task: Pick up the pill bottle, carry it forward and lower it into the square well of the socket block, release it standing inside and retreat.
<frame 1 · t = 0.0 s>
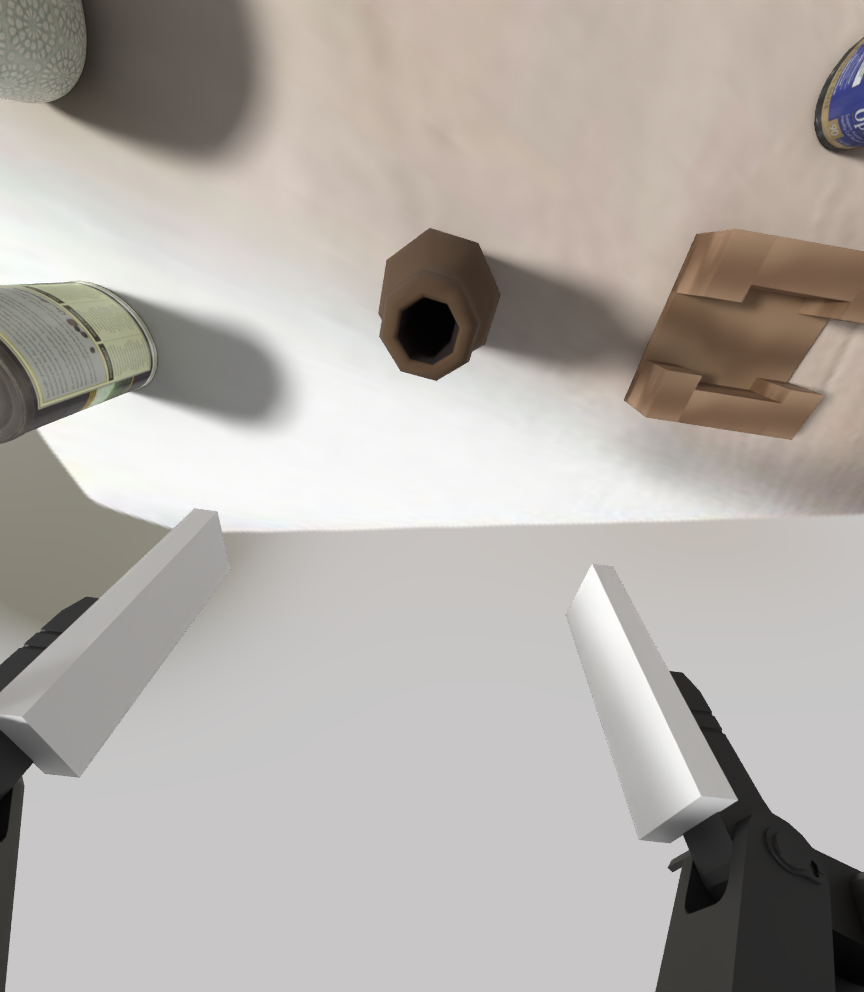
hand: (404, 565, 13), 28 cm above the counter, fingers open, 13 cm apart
socket: (728, 338, 34), on the counter
planter: (26, 2, 25), on the counter
pill bottle: (859, 94, 25), on the counter
coffee can: (107, 339, 37), on the counter
beer bottle: (442, 291, 33), on the counter
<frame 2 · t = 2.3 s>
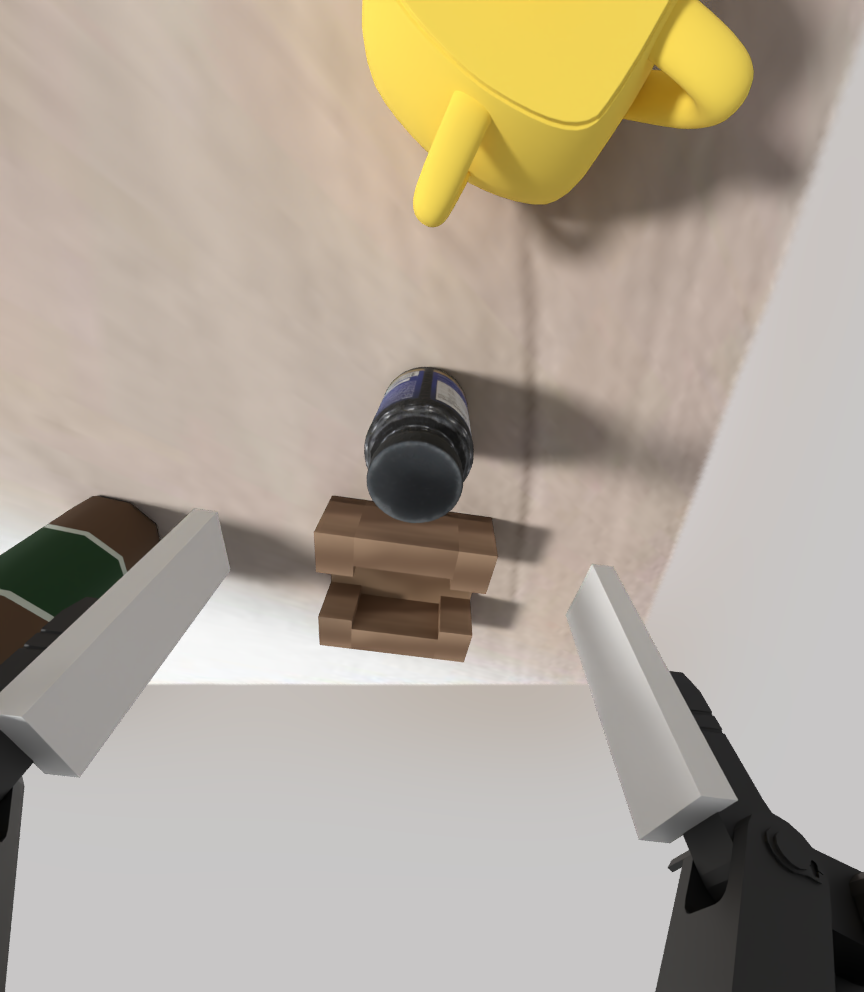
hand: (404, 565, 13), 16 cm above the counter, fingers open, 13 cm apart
teapot: (496, 41, 17), on the counter
socket: (404, 564, 35), on the counter
pill bottle: (426, 406, 27), on the counter
beer bottle: (123, 526, 34), on the counter
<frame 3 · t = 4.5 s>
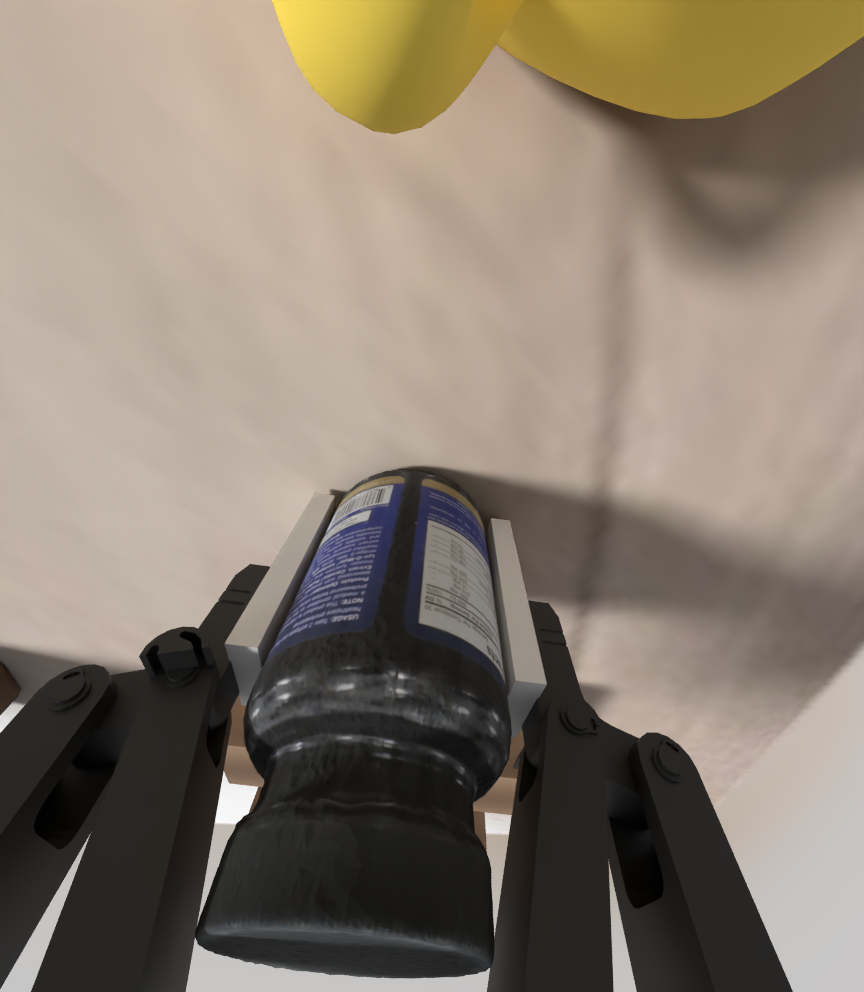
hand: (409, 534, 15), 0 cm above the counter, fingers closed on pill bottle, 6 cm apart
socket: (384, 720, 24), on the counter
pill bottle: (411, 525, 15), on the counter, touching gripper
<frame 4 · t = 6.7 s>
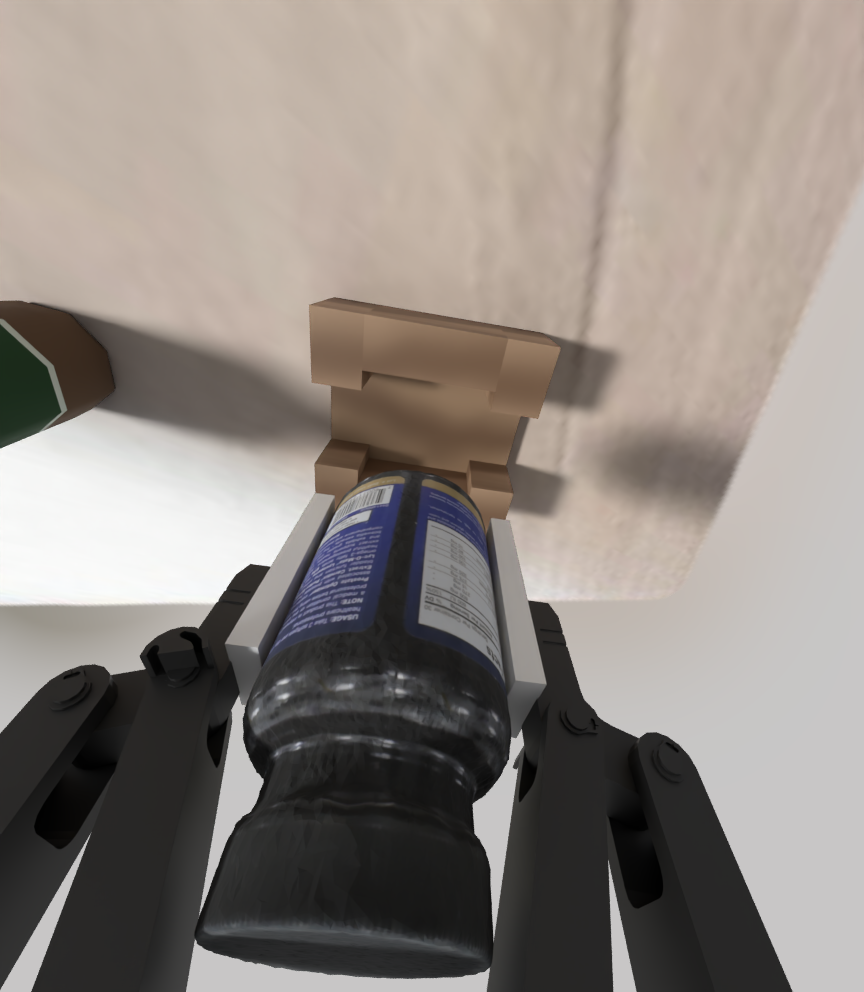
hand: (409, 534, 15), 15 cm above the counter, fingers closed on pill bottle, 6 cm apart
socket: (425, 415, 28), on the counter
pill bottle: (411, 525, 15), point 15 cm above the counter, touching gripper
beer bottle: (65, 357, 27), on the counter
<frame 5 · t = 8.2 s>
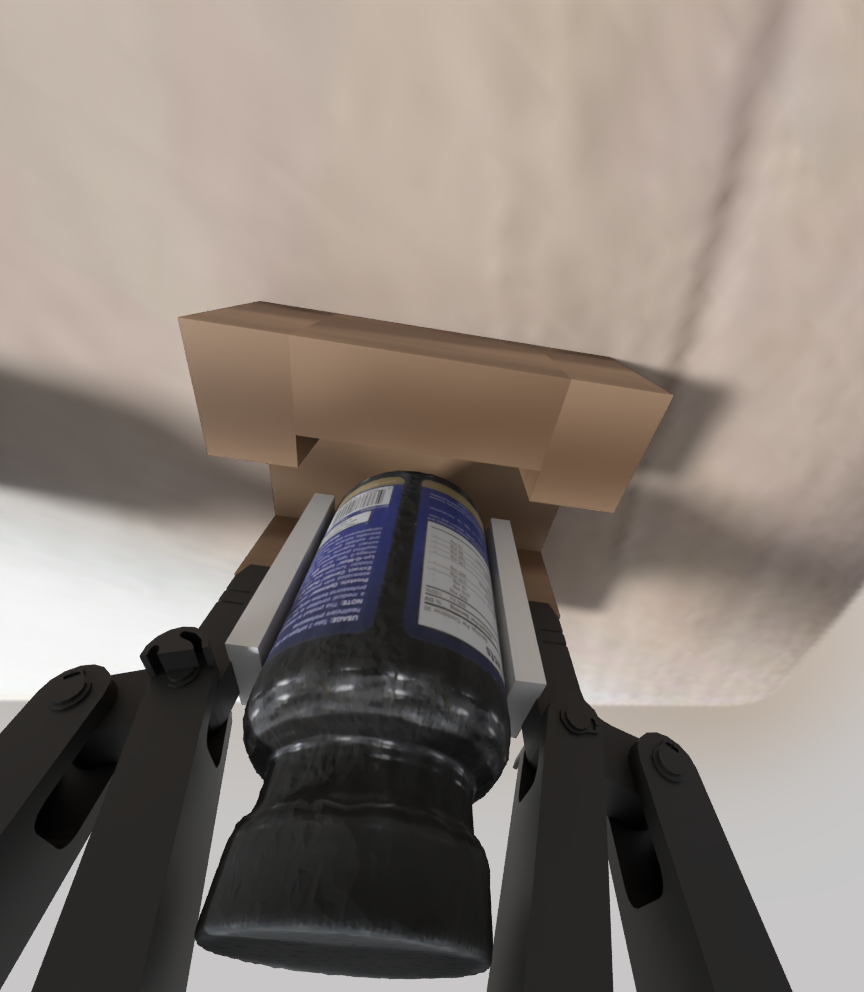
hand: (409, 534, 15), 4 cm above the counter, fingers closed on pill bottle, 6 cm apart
socket: (417, 480, 18), on the counter
pill bottle: (411, 525, 15), point 4 cm above the counter, touching gripper
when the fingers open (3 cm above the counter, at t = 9.2 s): pill bottle drops 2 cm, resting on socket.
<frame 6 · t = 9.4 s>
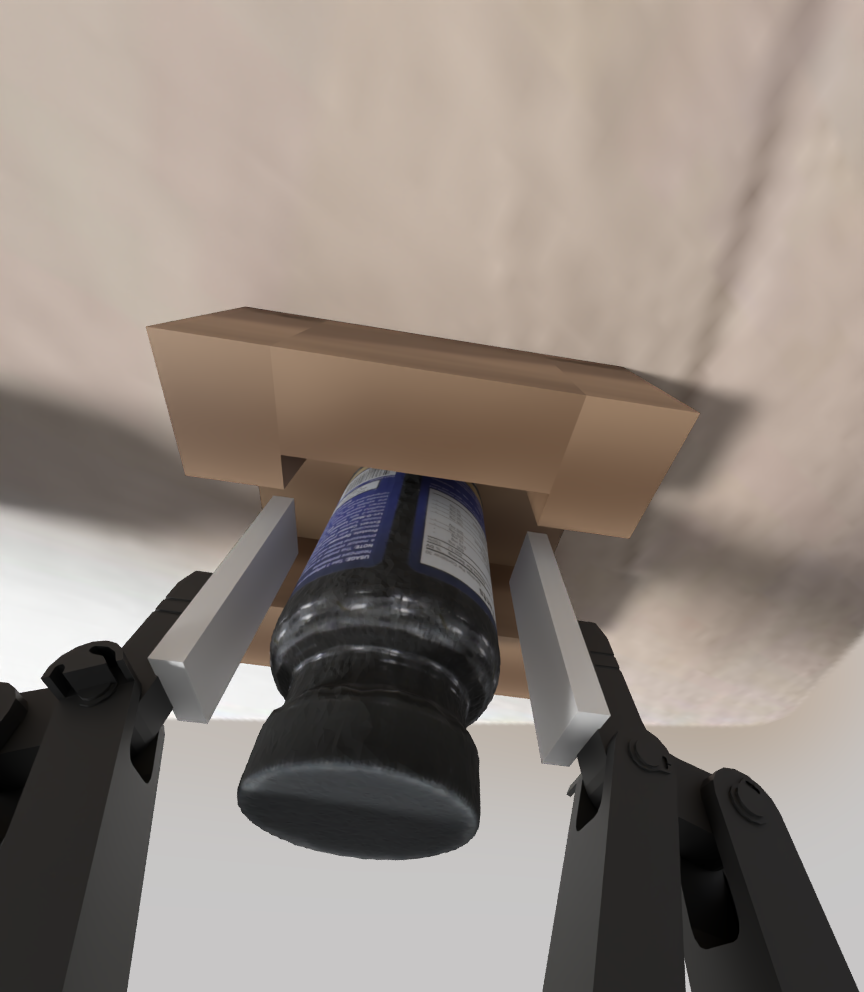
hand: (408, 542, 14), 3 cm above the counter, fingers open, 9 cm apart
socket: (415, 496, 17), on the counter
pill bottle: (415, 503, 16), point 1 cm above the counter, touching socket
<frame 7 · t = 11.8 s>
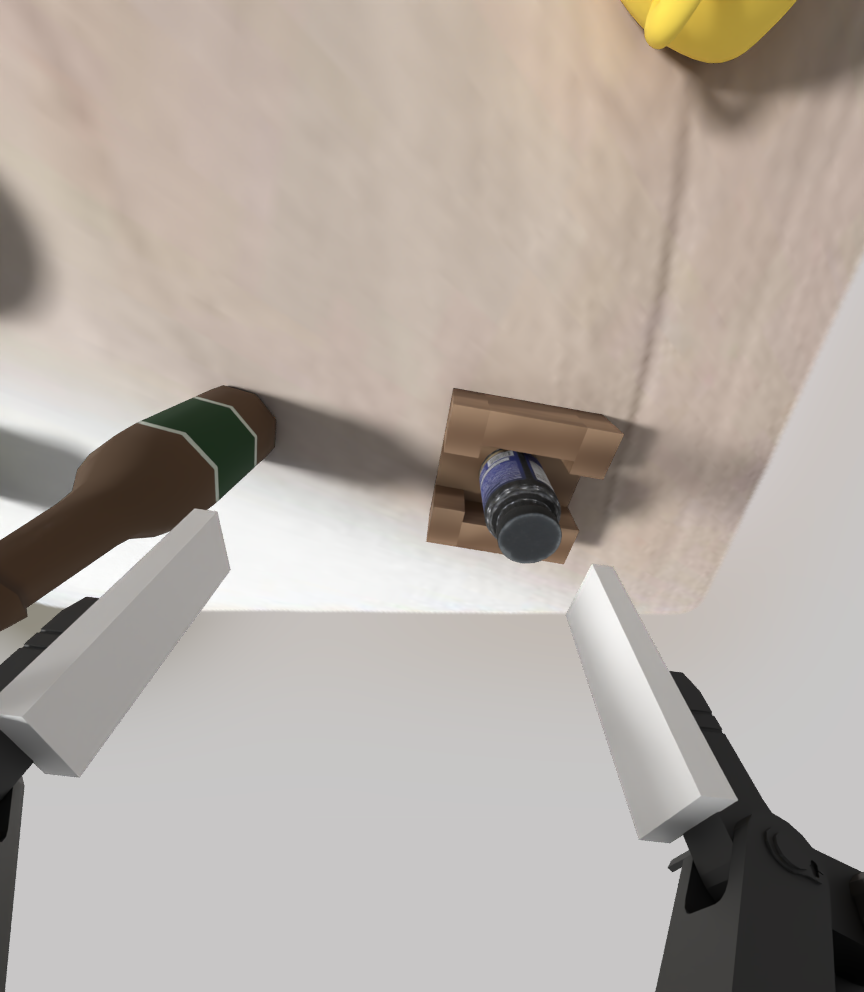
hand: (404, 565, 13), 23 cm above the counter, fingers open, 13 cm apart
socket: (508, 468, 37), on the counter
pill bottle: (509, 471, 36), point 1 cm above the counter, touching socket
beer bottle: (242, 422, 36), on the counter
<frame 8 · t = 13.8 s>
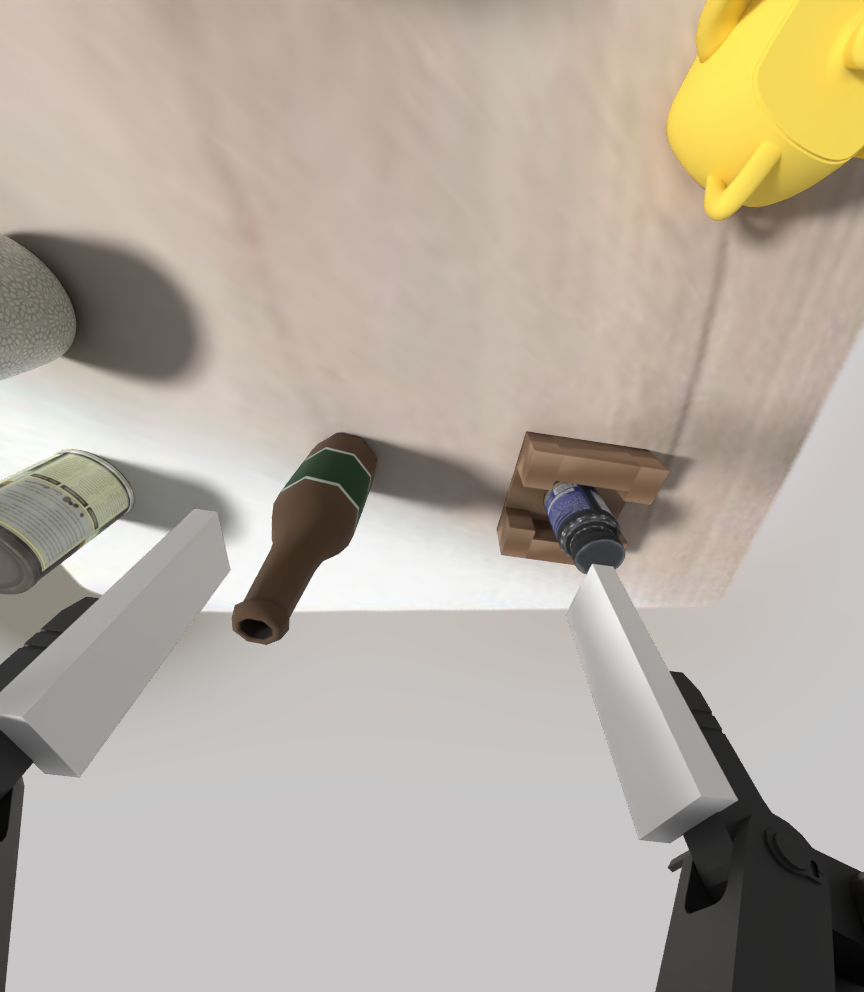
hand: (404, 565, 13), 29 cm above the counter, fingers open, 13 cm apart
teapot: (737, 102, 26), on the counter
socket: (566, 492, 44), on the counter
planter: (34, 296, 35), on the counter
pill bottle: (567, 495, 44), point 1 cm above the counter, touching socket
coffee can: (94, 483, 47), on the counter
beer bottle: (347, 459, 44), on the counter
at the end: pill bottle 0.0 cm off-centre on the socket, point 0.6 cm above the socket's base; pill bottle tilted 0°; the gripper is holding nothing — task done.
